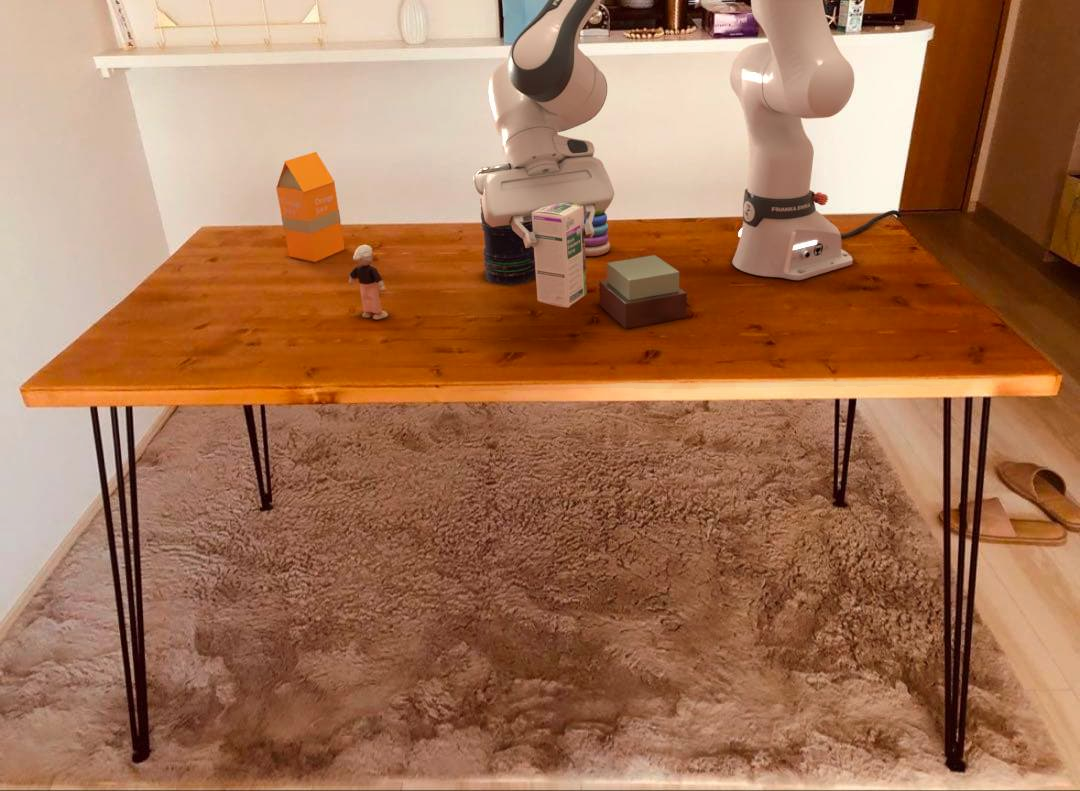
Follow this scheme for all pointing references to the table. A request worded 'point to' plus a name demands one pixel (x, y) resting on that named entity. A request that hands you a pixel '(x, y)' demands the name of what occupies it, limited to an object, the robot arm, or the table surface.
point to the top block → (642, 277)
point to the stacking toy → (598, 235)
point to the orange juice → (309, 209)
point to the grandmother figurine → (368, 283)
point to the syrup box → (560, 253)
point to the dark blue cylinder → (507, 254)
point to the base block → (642, 307)
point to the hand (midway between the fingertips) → (560, 241)
